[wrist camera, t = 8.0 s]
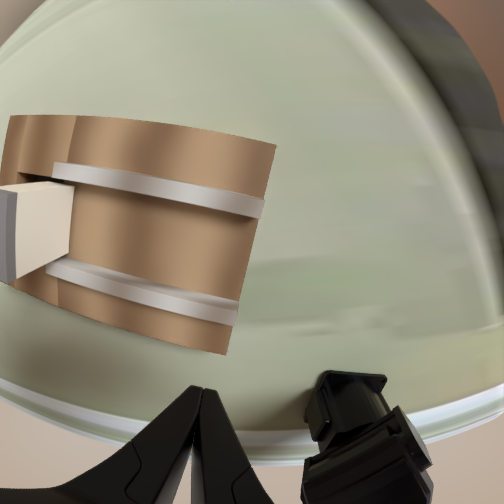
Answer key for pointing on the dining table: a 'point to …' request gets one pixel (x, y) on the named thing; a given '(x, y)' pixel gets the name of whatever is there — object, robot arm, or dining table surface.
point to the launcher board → (145, 221)
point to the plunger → (33, 226)
